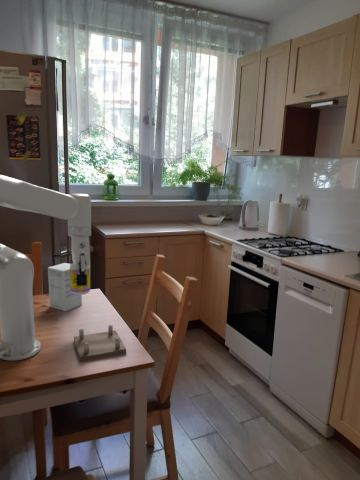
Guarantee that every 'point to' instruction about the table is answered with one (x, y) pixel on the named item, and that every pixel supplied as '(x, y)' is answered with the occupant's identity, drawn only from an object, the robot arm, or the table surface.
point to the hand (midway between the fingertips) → (80, 281)
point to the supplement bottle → (73, 280)
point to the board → (98, 345)
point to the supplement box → (61, 288)
